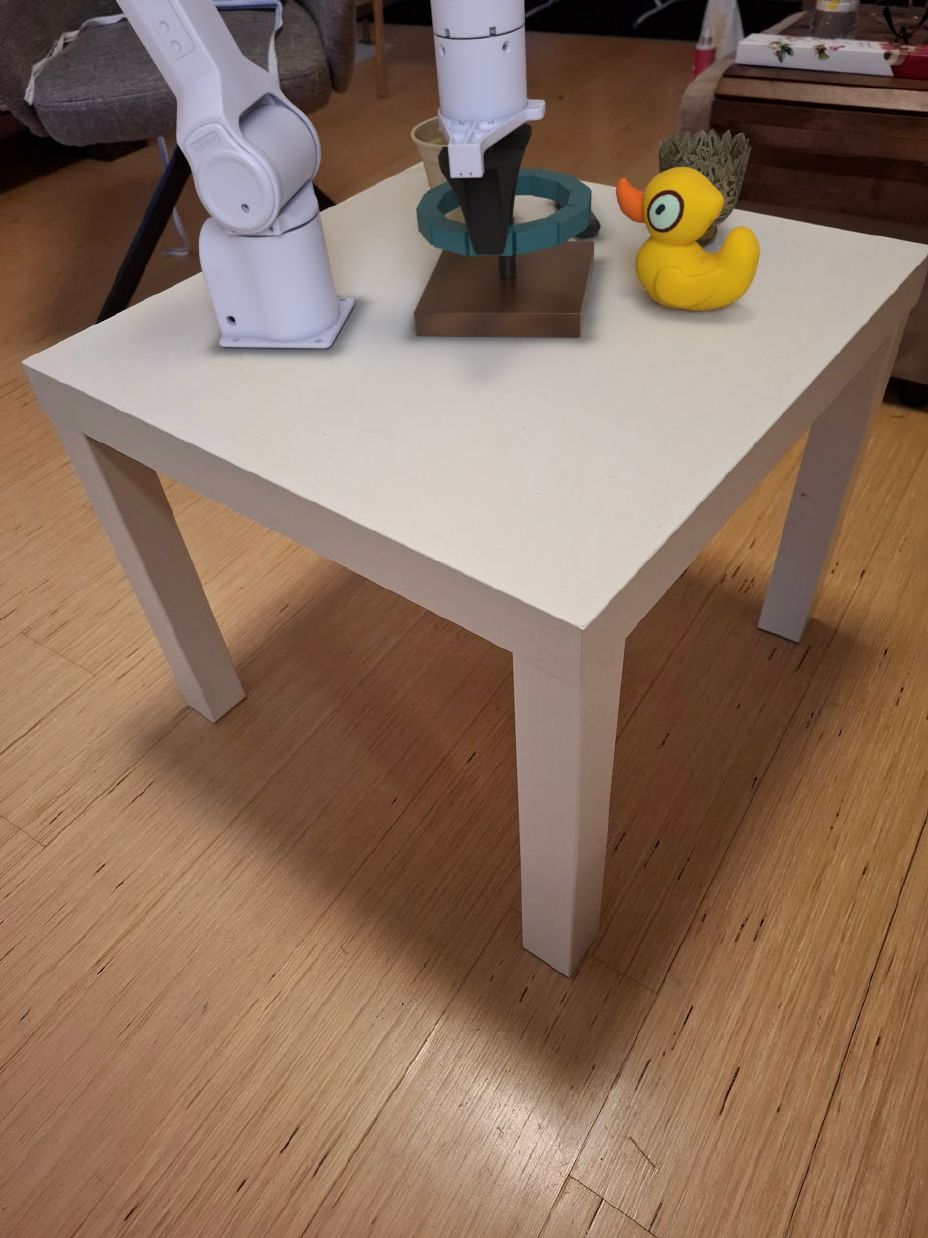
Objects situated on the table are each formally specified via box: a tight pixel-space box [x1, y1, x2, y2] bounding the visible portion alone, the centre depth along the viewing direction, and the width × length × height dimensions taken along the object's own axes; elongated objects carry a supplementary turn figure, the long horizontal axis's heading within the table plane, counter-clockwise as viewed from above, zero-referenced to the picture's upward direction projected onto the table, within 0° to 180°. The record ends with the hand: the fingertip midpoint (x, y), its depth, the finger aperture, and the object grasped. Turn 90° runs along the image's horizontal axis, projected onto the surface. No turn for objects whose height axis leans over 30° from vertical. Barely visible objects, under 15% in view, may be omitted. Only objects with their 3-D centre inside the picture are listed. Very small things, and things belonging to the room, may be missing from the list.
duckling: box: [615, 167, 761, 312], centre depth 66 cm, size 11×5×10 cm, turn 58°
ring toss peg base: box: [413, 217, 595, 338], centre depth 71 cm, size 13×13×6 cm
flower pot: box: [410, 115, 466, 223], centre depth 81 cm, size 9×9×9 cm
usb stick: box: [554, 201, 602, 238], centre depth 82 cm, size 10×3×2 cm, turn 8°
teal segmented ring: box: [415, 167, 593, 256], centre depth 68 cm, size 13×13×2 cm
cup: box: [658, 128, 752, 247], centre depth 75 cm, size 8×7×8 cm
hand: (492, 245), depth 64 cm, fingers closed on teal segmented ring, 1 cm apart
